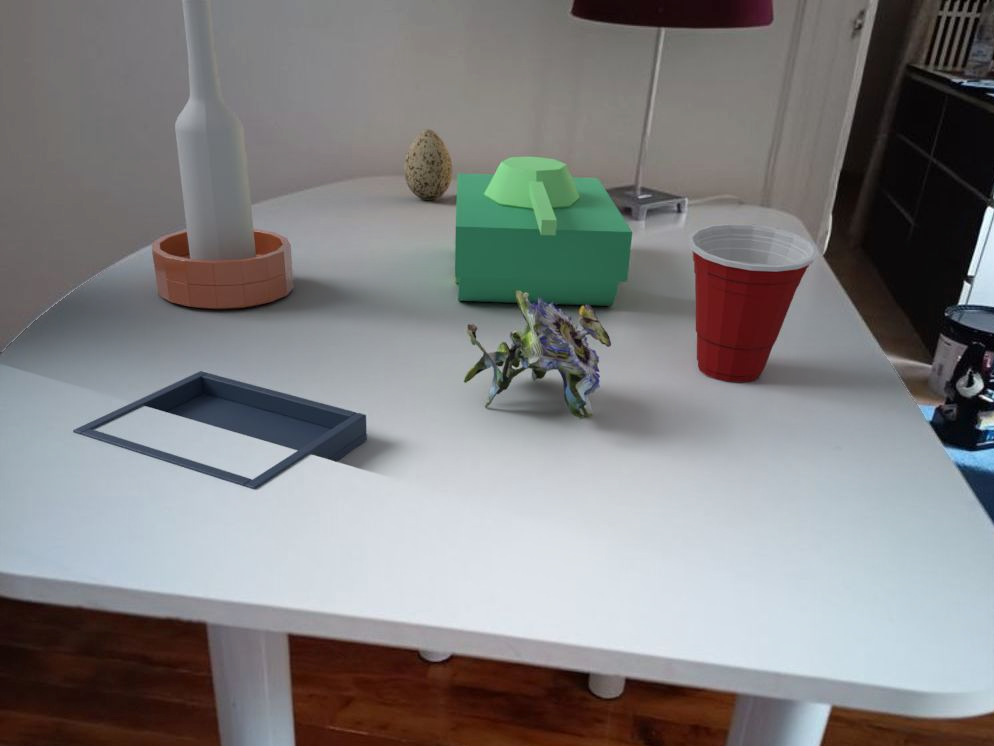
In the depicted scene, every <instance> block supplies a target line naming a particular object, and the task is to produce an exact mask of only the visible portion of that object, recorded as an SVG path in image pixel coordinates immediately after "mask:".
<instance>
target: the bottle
mask: <svg viewBox="0 0 994 746" xmlns="http://www.w3.org/2000/svg"><path fill="white" fill-rule="evenodd" d="M181 2H182V11H183V21H184V28H185V29H184V30H185V31H184V32H185V38H186V47H187V61H188V62H187V63H188V64H187V65H188V80H189V81H188V83H189V98H188V99H187V103H186V104H185V106H184V107H183V109H182V111H181V112H180V114H179V115H178V116H177V118H176V121H175V123H174V128H175V130H174V131H175V139H176V147H177V156H178V165H179V173H180V181H181V191H182V199H183V207H184V216H185V218H184V219H185V226H186V230H187V235H188V244H189V252H190V259H198V260H235V259H245V258H251V257H256V251H255V240H254V230H253V229H254V222H253V221H254V219H253V211H252V202H251V191H250V189H251V188H250V181H249V180H250V179H249V171H248V169H249V168H248V159H247V150H246V140H245V129H244V125H243V123H242V121H241V120H240V119H239V117H238V115H237V114H236V113H235V112H234V110H232V109H231V107H230V106H229V105H228V103H227V102H226V101H225V99H224V97H223V94H222V93H223V92H222V88H221V81H220V76H219V75H220V74H219V68H218V61H217V56H216V47H215V39H214V29H213V21H212V20H213V19H212V11H211V9H212V8H211V1H210V0H181Z"/></svg>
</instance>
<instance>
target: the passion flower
mask: <svg viewBox="0 0 994 746" xmlns="http://www.w3.org/2000/svg"><path fill="white" fill-rule="evenodd" d="M528 295H529V294H528V293H524V294H523V293H522V292H521V291H516V293H515V296H516V300H517V303H516V304H517V306H518V308H519V310H520V312H521V315H522V317H523V318H524V320H525V323H526V325H525V327H524V328H523V330H514V331H513V332H512V331H511V332H510V333H509V340H510V343H511V345H510V346H509V345H508V343H507V342H506V341H502V342H501V343H500V344H499V345H498V347H497V349H496V350H495V351H493V352H492V351H491V352H487V351H486V349H485V347H483V346H482V344H481V343H480V341H478V340H477V331H478V326H476V325H475V324H474V323H471V324H469V323H468V324H467V325H466V334H467V335H468V336H469V337H470V343H471V345H472V346H477V347H478V348H479V350H480V351H482V353H483V354H482V356H481V357H480V358H479V360H478V361H477V362H476V363H475V364H474V366H472V367H471V368H470V370H468V371H467V373H466V375H465V376H464V378H463V383H464V384H466V383H469V382H470V381H471V380H472V379H474V378H475V376H477V375H478V374H479V373H481V372H483V371H485V370H488V369H490V368H491V367H492V369H493V372H492V373H493V376H492V380H491V386H490V389H489V394H488V398H487V401H486V403H485V405H484V408H485V409H487V408H488V407H489V406H490V405H491V403H492V402H493V400H494V398H495V397H496V396H497V395H500V394H501V393H502V392H503V391H506V390H507V389H508V387H509V386H510V384H511V383H512V380H513V379H514V378H515V377H516V376H518V375H519V374H521V373H523V372H524V371H525V370H528V369H531V379H532V381H533V382H536V381H537V380H541V379H543V378H545V376H546V374H547V372H550V371H553V370H557V371H558V373H559V374H560V376H561V379H562V384H563V398H564V401H565V403H566V405H567V407H568V409H569V412H570V413H571V414H572V415H573V416H574V417H577V418H578V419H579V420H583V419H584V418H585V417H587V418H588V417H591V416H592V415H593V406H592V403H591V400H590V395H591V394H594V393H596V390H597V389H599V388H600V381H601V380H600V377H601V376H600V374H599V373H600V369H599V366H598V365H599V363H600V357H599V356H598V355H597V351H596V350H595V349H592V348H590V347H589V342H588V337H587V335H590V337H592V338H593V339H594V340H596V341H599V342H600V343H601V345H605V347H607V348H610V347H611V346H612V342H611V338H610V335H609V333H608V331H606V329H605V328H604V327H603V325H602V324H601V319H599V318H598V316H597V313H596V311H595V309H594V308H593V307H591V305H588V304H587V305H581V306H580V307H579V311H578V313H579V314H578V316H577V319H578V320H577V321H578V323H579V324H580V326H581V328H582V330H578V327H579V324H576V325H575V322H574V321H573V319H572V315H571V314H570V315H569V317H568V316H567V315H566V313H565V312H563V309H562V308H556V306H557V305H558V304H553V301H552V304H551V303H550V304H547V303H546V302H544V303H543V301H542V298H538V303H530V301H529V300H528V299H527V298H528ZM555 305H556V306H555ZM510 347H511V348H510ZM520 364H521V367H520ZM499 367H503V368H502V370H500V368H499ZM513 367H514V368H513ZM519 367H520V368H519Z"/></svg>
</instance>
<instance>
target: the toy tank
mask: <svg viewBox="0 0 994 746" xmlns="http://www.w3.org/2000/svg"><path fill="white" fill-rule="evenodd" d="M455 202H456V204H455V240H454V242H455V243H454V244H455V249H454V250H455V251H454V255H455V256H454V257H455V258H454V281H455V282H454V283H455V284H458V286H457V288H458V289H457V301H458V302H479V303H480V302H482V303H484V302H485V303H489V302H490V303H512V304H513V303H514V304H518V303H517V300H516V296H515V293H516V291H521V292H522V293H523V294H524V293H528V294H529V295H528V298H527V299H528V300H529V301H530V303H531V304H533V303H536V304H538V298H542V301H543V303H544V302H546V303H547V304H549V305H550V303H551V304H552V301H553V304H554V305H556V304H557V305H566V306H567V305H570V306H571V305H572V306H585V305H587V304H588V305H590V306H599V307H601V306H602V307H612V306H613V305H614V304H615V302H616V298H617V294H618V290H619V285H620V283H627V282H628V276H629V268H630V267H629V266H630V258H631V257H630V256H631V249H632V240H633V239H632V238H633V230H632V229H631V227H630V226H629V225H628V223H627V221H626V219H625V218H624V216H623V215H622V213H621V212H620V210H619V209H618V207H617V205H616V204H615V202H614V201H613V200H612V198H611V196H610V194H609V193H608V192H607V189H606V188H605V187H604V185H603V183H602V182H601V180H600V179H599V178H598V177H580V176H579V177H577V176H572V175H571V172H570V170H569V167H568V165H567V163H564V162H562V161H560V160H557V159H554V158H549V157H548V158H547V157H541V156H540V157H539V156H538V157H537V156H532V155H531V156H515V157H514V156H513V157H512V156H511V157H508V158H506V159H504V160H503V161H501V162H500V163H499V165H498V167H497V169H496V171H495V173H494V174H491V173H490V174H489V173H488V174H487V173H463V172H457V174H456V201H455Z"/></svg>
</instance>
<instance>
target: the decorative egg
mask: <svg viewBox="0 0 994 746" xmlns="http://www.w3.org/2000/svg"><path fill="white" fill-rule="evenodd" d="M403 168H404V169H403V172H404V173H403V175H404V179H405V181H406V185H407V187H408V188H409V190H410V191H411V192H412V193H413V194H414V195H415V197H418V198H419V199H421V200H423V201H433V200H437V199H439V198H440V197H442V196H443V195H444V194H445V193H446V192H447V190H448V189H449V187H450V185H451V182H452V179H453V164H452V159H451V156H450V153H449V150H448V147H447V146H446V144H445V143H444V141H443V140H442V138H441V137H440V136H439V135H438V133H436V132H435V130H432V129H430V128H429V129H425V130H423V131H422V132H420V133H419V134H418V135H417V136H416V138H415V139H414V140H413V141H412V143H411V144H410V147H409V149H408V150H407V152H406V156H405V159H404V165H403Z"/></svg>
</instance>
